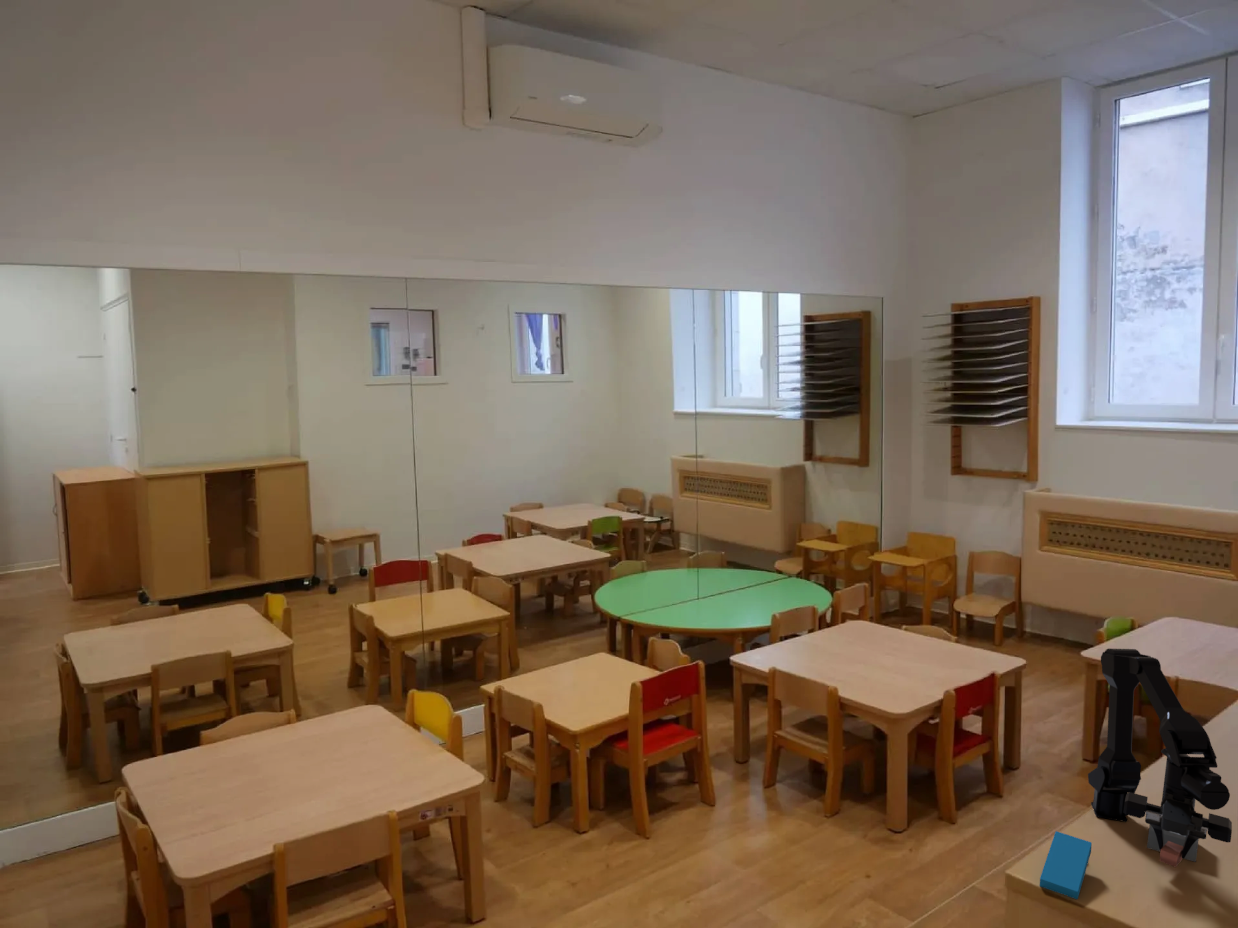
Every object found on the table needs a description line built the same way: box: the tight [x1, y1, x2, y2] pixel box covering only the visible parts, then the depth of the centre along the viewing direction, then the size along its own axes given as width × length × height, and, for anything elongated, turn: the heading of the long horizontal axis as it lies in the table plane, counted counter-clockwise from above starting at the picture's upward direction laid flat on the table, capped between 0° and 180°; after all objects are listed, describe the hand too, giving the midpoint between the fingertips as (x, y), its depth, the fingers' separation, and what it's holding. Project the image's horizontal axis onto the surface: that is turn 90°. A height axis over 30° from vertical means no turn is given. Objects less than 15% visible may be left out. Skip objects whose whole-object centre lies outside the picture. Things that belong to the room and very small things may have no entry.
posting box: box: [1146, 824, 1200, 863], centre depth 194 cm, size 9×9×5 cm
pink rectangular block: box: [1158, 841, 1183, 868], centre depth 184 cm, size 5×3×2 cm, turn 133°
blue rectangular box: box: [1039, 830, 1093, 900], centre depth 184 cm, size 7×7×18 cm
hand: (1172, 854), depth 184 cm, fingers closed on pink rectangular block, 3 cm apart
